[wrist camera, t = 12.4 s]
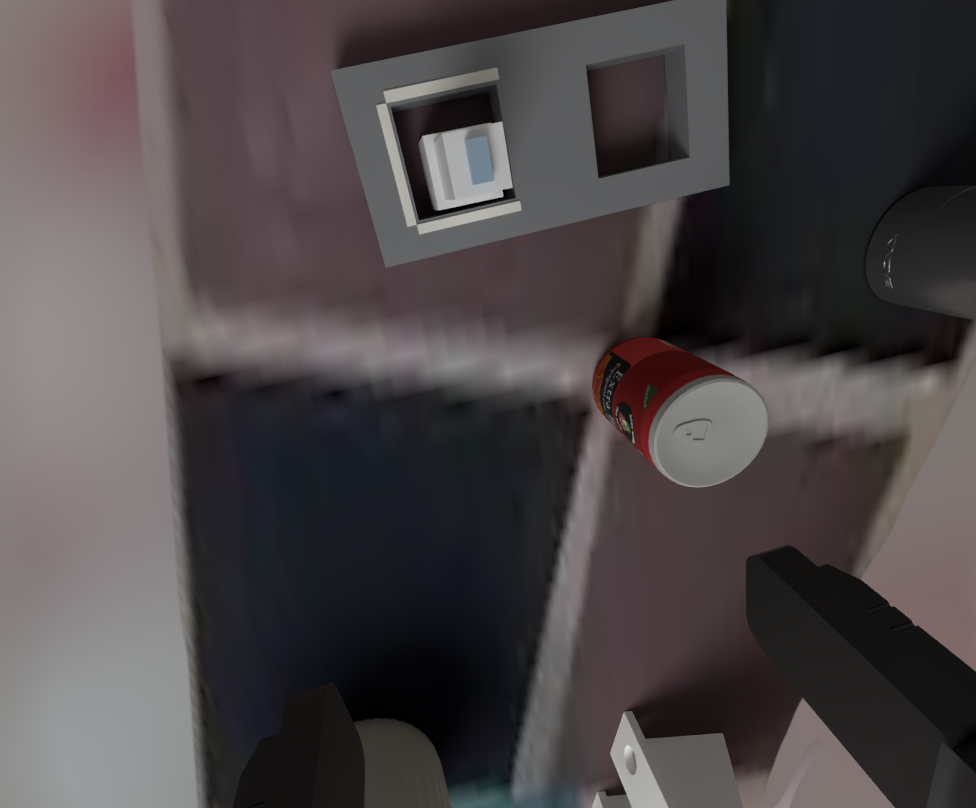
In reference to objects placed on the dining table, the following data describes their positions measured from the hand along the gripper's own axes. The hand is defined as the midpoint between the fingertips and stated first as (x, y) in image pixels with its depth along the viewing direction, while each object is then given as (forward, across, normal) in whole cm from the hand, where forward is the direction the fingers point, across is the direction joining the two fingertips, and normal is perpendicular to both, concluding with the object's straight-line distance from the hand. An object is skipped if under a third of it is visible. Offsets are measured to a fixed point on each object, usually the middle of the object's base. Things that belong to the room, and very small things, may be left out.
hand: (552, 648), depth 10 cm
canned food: (+30, -15, +9) cm, 35 cm away
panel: (+30, -10, -10) cm, 33 cm away
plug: (+30, -4, -9) cm, 32 cm away
